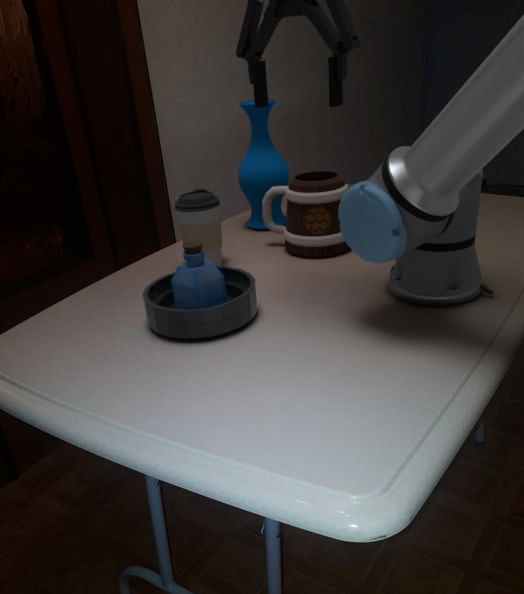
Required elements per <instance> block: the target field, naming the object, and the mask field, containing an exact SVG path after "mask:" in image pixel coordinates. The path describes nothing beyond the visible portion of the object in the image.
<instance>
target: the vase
mask: <svg viewBox="0 0 524 594" xmlns="http://www.w3.org/2000/svg"><path fill="white" fill-rule="evenodd" d="M277 100H278V99H274V98H268V105H269V106H264V107H260V108H255V102H254V99H253V100H251V99H250V100H246V101H241V102H239V103H238V105H239V106H240V107H241V108H242V110H244V112H245V113H246V115H247V116H248V119H249V122H250V129H251V136H250V137H251V138H250V141H249V142H250V143H249V145H248V148H247V149H246V152H245V154H244V156H243V157H242V159H241V161H240V163H239V166H238V170H237V181H238V185H239V188H240V190H241V192H242V193H243V195H244V197H245V198H246V200H247V201H248V203H249V206H250V216H249V219H248V220H247V223H246V224H247V226H248V227H249V228H251V229H254V230H270V229H269V228H268V227H266V225H265V222H264V219H263V211H262V201H263V199H264V197H265V194H266V192H267V191H268V190H270V189H271V188H272V187H275V186H288V185H289V181H290V169H289V166H288V163H287V161H286V159H285V158H284V157H283V156H282V154H281V153H280V151H279V150H278V149H277V147H276V146H275V144H274V142H273V141H272V138H271V136H270V132H269V116H270V114H271V111H272V109H273V107H274V106H275V104H276V102H278V101H277ZM283 198H284V195H277V196H276V197H275V198H274V199H273V201H272V203H271V209H272V219H273V222H274V223H275V224H276V225H281V226H285V225H286V215H284V213H283V210H282V202H283Z"/></svg>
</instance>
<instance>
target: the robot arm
mask: <svg viewBox="0 0 524 594" xmlns="http://www.w3.org/2000/svg"><path fill="white" fill-rule="evenodd" d="M265 1H266V0H247V5H246V9H245V12H244V17H243V22H242V24H241V29H240V34H239V37H238V42H237V46H236V50H235V56H236V57H237V58H238V59H243V60H245V61H246V63H247V70H248V71H247V72H248V82H249V84H250V85H252V86H253V87H252V88H253V100H254V102H255V108H260V107H264V106H269V105H268V99H269V94H268V93H269V91H268V79H267V63H266V60H264V59H263V58H264V57H263V55H264V52H265V50H266V48H267V46H268V45H269V42H270V41H271V39H272V37H273V35H274V33H275V30H276V29H277V27H278V25H279V23H280V22H281V21H282V20H283V18H292V17H301V16H304V17H305V18H307V19H308V20H309V22H310V23H311V24H312V26H313V27H314V28H315V30H316V32H318V34H319V36H320V37H321V39H322V40H323V41H324V43H325V45H327V47H328V48H329V50H330V52H331V53H332V54H331V56H328V57H327V62H328V63H327V64H328V68H327V69H328V100H329V101H328V106H329V108H336V107H339V106H343V104H344V92H343V91H344V89H343V87H344V86H343V85H344V84H343V83H344V82H343V81H347V79H348V56H349V54H350V53H351V52H353V51H354V50H356V49H359V48H360V47H361V40H360V38H359V35H358V33H357V31H356V28H355V25H354V23H353V21H352V18H351V15H350V13H349V11H348V8H347V6H346V3H345V1H344V0H325V3H326V5H327V8H328V10H329V13H330V15H331V17H332V20H333V22H334V24H335V26H334V25H333V23H332V22H331V21H330V19H329V18H328V16H327V15H326V13H325V11H324V9H323V6H322V5H321V4H320V2H319V1H318V0H268V2H269V3H268V4H267V7H266V8H265V10H264V13H263V9H264V5H265V4H264V3H265ZM262 14H263V18H262V20H261V17H262ZM260 22H261V23H260ZM523 130H524V14H523V15H522V16H521V17H520V18H519V19H518V20H517V21H516V22H515V24H514V25H513V26H512V27H511V29H510V30H509V31H508V32H507V34H505V36H503V38H502V40H501V41H500V42H499V43H498V44H497V45H496V46H495V48H493V50H492V51H491V52H490V54H488V56H487V57H486V58H485V59H484V60H483V61H482V63H481V64H480V65H479V66H478V67H477V69H476V70H475V71H474V72H473V73H472V74H471V76H470V77H469V78H468V79H467V80H466V82H465V83H464V84H463V85H462V86H461V87H460V88H459V89H458V91H457V92H456V93H455V95H454V96H453V97H452V98H451V99H450V100H449V102H448V103H447V104H446V105H445V106H444V107H443V109H442V110H441V111H440V112H439V113H438V114H437V116H436V117H434V119H433V120H432V121H431V123H429V125H428V126H427V127H426V128H425V130H424V131H423V132H422V133H421V134H420V136H419V137H418V138H417V139H416V140H415V141H414V143H413V144H412V145H411V146H410V145H409V146H408V145H403V146H399V147H396V148H394V150H392V151H391V152H390V153H389V155H388V156H387V157H386V158H385V159H384V160H383V161H382V163H381V164H380V165H379V167H378V168H377V169H375V171H374V173H373V174H372V175H371V176H370V177H368V178H367V179H366V180H362V181H359V182H357V183H355V184H353V185H352V186H351V187H348V188H349V189H348V190H347V191H346V192H345V193H344V195H343V197H342V199H341V201H340V204H339V210H338V218H339V220H340V229H341V232H342V235H343V237H344V239H345V241H346V243H347V244H348V246H349V247H350V250H351V251H353V253H354V254H355V255H356V256H358V257H359V258H360V259H362V260H364V261H366V262H370V263H374V264H383V263H388V262H390V261H395V262H394V265H392V267H391V269H390V272H389V290H390V292H391V293H392V294H393V295H394V296H396V297H397V298H399V299H400V300H403V301H406V302H409V303H413V304H417V305H423V306H433V307H434V306H437V307H439V306H454V305H460V304H464V303H467V302H470V301H473V300H474V299H476V298H477V297H479V295H480V294H481V292H482V291H483V292H486V293H487V294H489V295H490V296H493V294H494V293H495V291H494V290H492V289H490V288H489V287H487V286H485V285H484V284H483V276H482V272H481V267H480V263H479V259H478V255H477V250H476V247H475V246H476V236H477V227H478V226H477V225H478V219H479V218H478V217H479V210H480V200H481V193H482V186H483V185H482V184H483V179H484V174H483V173H484V172H483V171H484V169H483V168H484V167H486V166H487V165H488V164H489V163H490V162H491V160H493V159H494V157H496V156H497V155H498V154H499V153H500V152H501V151H502V150H503V149H504V148H506V146H507V145H508V144H510V142H511V141H512V140H513V139H515V138H516V136H517V135H519V134H520V133H521V132H522V131H523Z"/></svg>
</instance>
